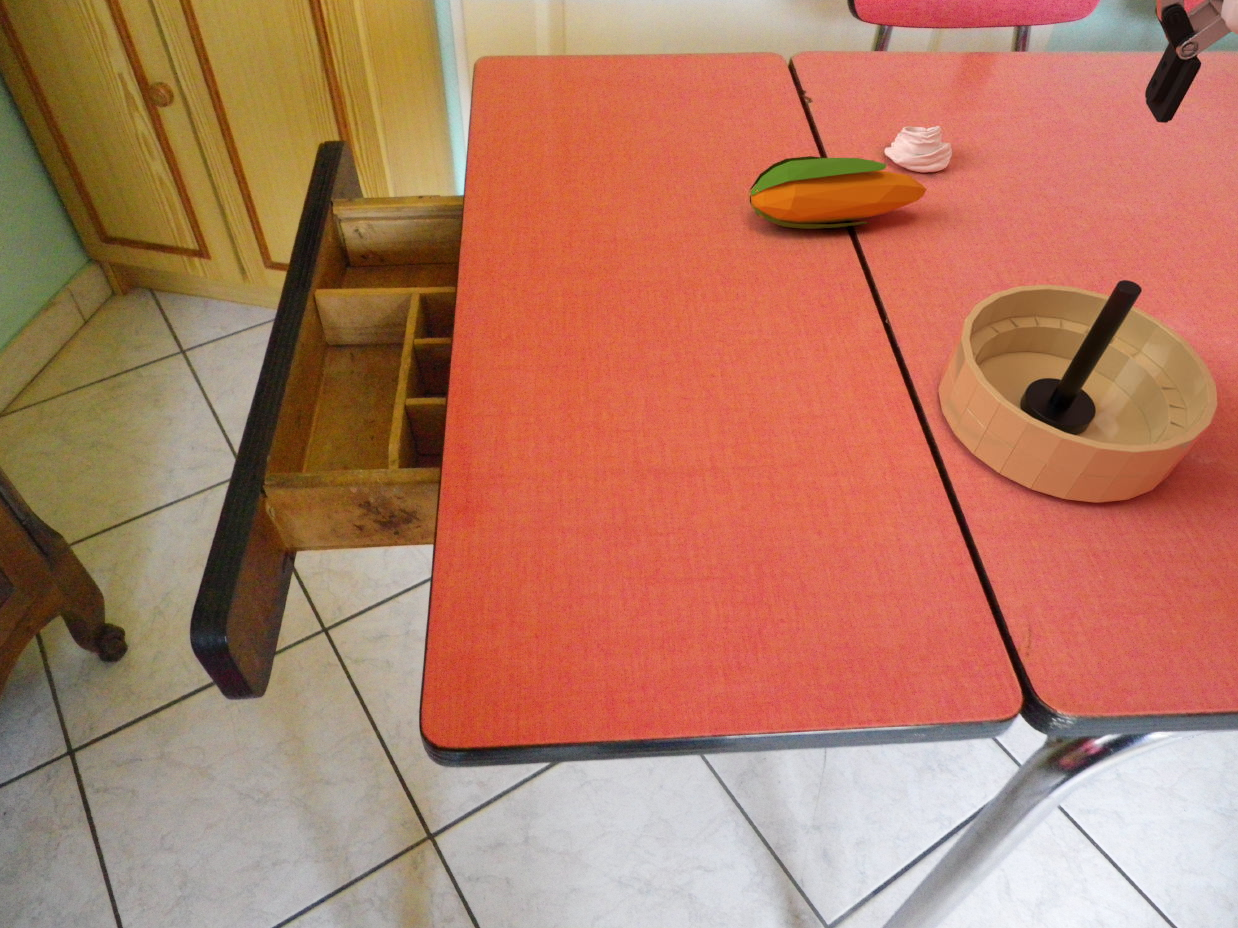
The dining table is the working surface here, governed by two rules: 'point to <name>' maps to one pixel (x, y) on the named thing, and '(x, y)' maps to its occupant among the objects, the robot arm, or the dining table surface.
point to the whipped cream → (920, 149)
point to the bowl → (1119, 386)
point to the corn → (829, 191)
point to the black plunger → (1079, 370)
